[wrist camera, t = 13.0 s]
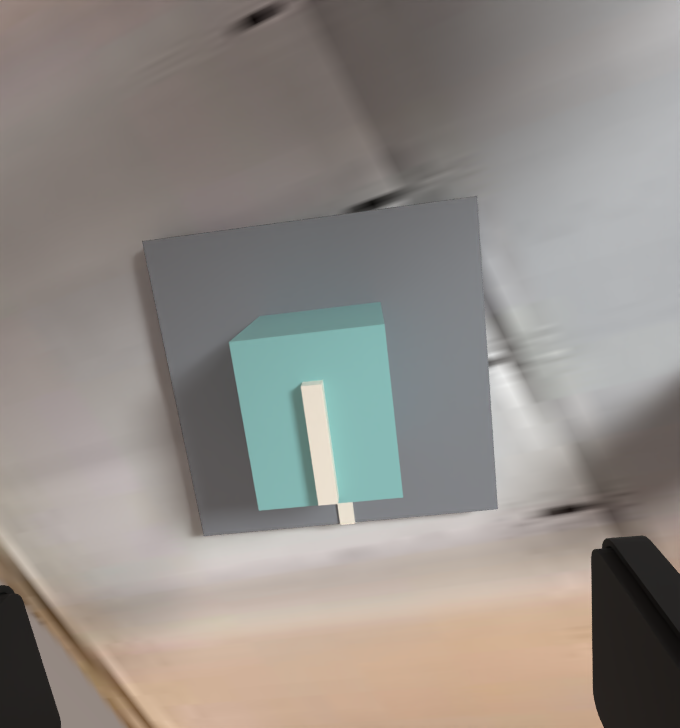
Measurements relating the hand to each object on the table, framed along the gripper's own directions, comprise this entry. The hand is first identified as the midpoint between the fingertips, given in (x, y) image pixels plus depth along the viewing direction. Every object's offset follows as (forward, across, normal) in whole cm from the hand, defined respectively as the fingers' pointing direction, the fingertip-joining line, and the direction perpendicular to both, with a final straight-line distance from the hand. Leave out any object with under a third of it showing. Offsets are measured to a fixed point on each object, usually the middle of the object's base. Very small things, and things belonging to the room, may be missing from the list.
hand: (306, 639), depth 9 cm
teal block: (+19, +1, +1) cm, 19 cm away
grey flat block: (+21, +1, +1) cm, 21 cm away
